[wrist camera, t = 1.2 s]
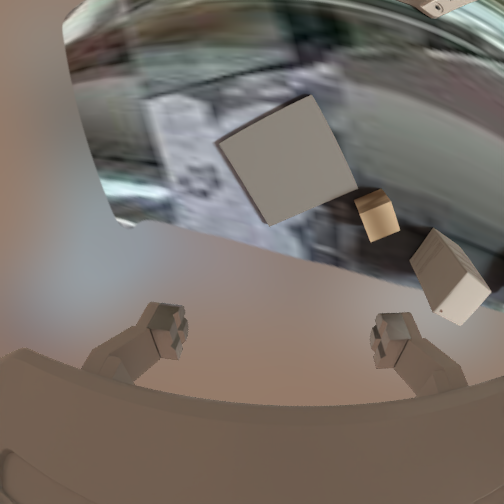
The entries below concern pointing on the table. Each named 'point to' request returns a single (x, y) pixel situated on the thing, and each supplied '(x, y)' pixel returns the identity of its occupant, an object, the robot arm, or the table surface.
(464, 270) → the supplement box
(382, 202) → the birch block
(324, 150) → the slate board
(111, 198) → the table surface
